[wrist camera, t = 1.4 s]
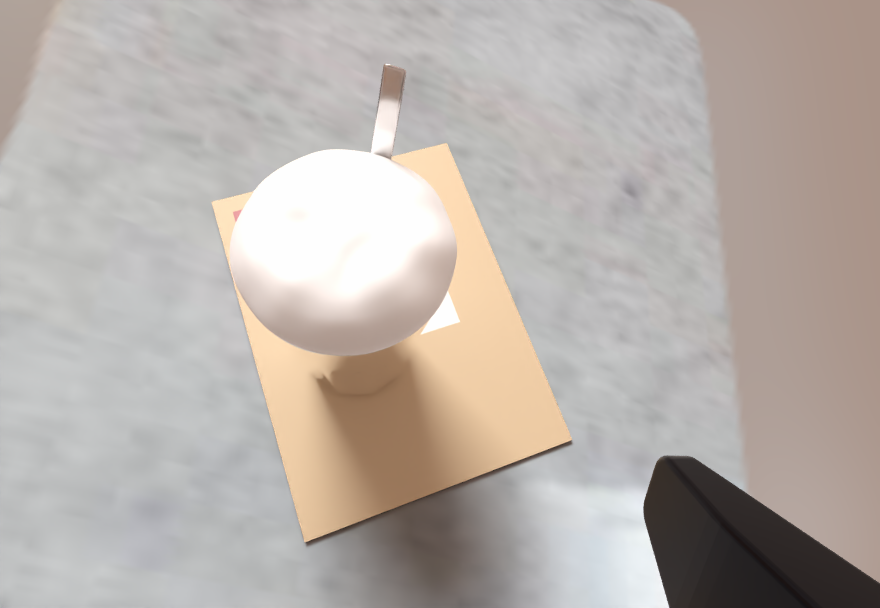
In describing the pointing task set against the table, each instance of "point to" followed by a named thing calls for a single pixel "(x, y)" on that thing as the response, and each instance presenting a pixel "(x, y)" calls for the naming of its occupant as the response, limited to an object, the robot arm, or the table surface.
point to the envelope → (411, 388)
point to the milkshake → (347, 256)
